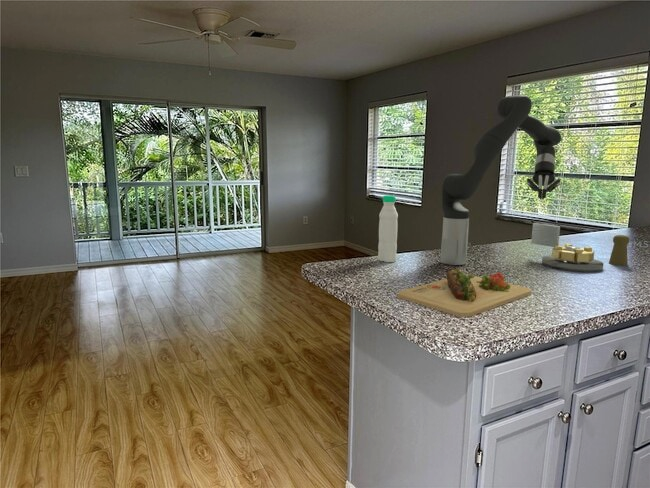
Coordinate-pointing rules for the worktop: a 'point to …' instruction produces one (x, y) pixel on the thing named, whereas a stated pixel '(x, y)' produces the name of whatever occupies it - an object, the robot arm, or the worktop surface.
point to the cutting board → (465, 293)
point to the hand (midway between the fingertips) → (541, 198)
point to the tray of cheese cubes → (572, 263)
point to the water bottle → (388, 230)
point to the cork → (619, 251)
